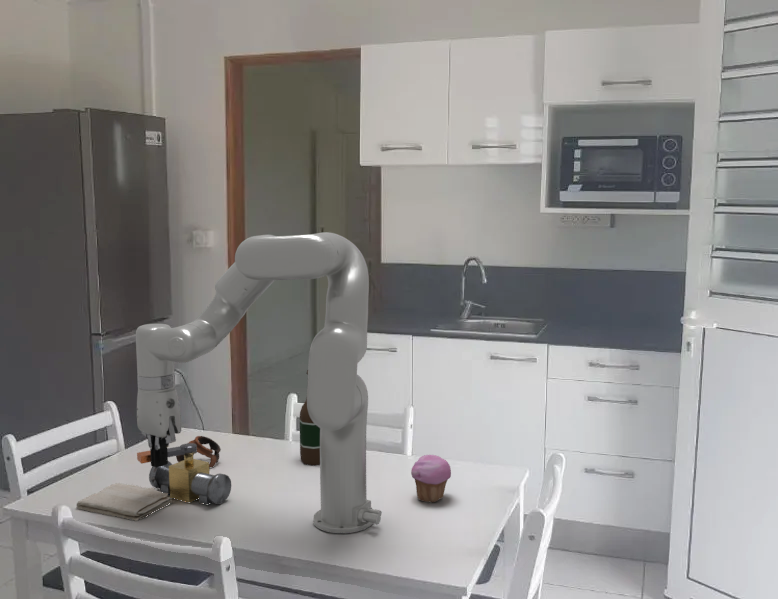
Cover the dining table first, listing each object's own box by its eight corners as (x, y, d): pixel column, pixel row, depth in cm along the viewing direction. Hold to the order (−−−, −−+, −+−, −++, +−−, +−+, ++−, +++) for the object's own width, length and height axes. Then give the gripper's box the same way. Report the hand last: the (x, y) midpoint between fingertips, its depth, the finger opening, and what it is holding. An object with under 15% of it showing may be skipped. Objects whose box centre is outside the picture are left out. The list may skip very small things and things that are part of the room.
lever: (199, 453, 172) (198, 446, 172) (141, 464, 165) (141, 456, 164) (193, 449, 175) (193, 442, 175) (136, 459, 168) (136, 452, 167)
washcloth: (139, 524, 159) (138, 510, 159) (73, 511, 166) (73, 497, 166) (176, 504, 170) (175, 490, 170) (113, 492, 177) (112, 479, 177)
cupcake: (425, 489, 177) (425, 447, 176) (458, 497, 172) (458, 454, 171) (404, 501, 170) (404, 457, 169) (437, 510, 165) (437, 465, 164)
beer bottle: (329, 465, 193) (327, 372, 191) (298, 465, 194) (296, 372, 191) (331, 455, 201) (330, 366, 198) (302, 455, 201) (300, 366, 198)
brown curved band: (192, 458, 201) (207, 432, 200) (215, 480, 197) (231, 453, 196) (160, 460, 190) (176, 432, 190) (184, 483, 186) (200, 455, 185)
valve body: (231, 499, 171) (230, 456, 170) (211, 509, 166) (210, 465, 165) (170, 484, 181) (169, 443, 180) (149, 492, 176) (147, 450, 175)
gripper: (192, 383, 161) (195, 467, 164) (150, 374, 171) (153, 454, 173) (162, 390, 156) (165, 477, 158) (120, 380, 165) (124, 462, 167)
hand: (159, 465), depth 165 cm, fingers closed
